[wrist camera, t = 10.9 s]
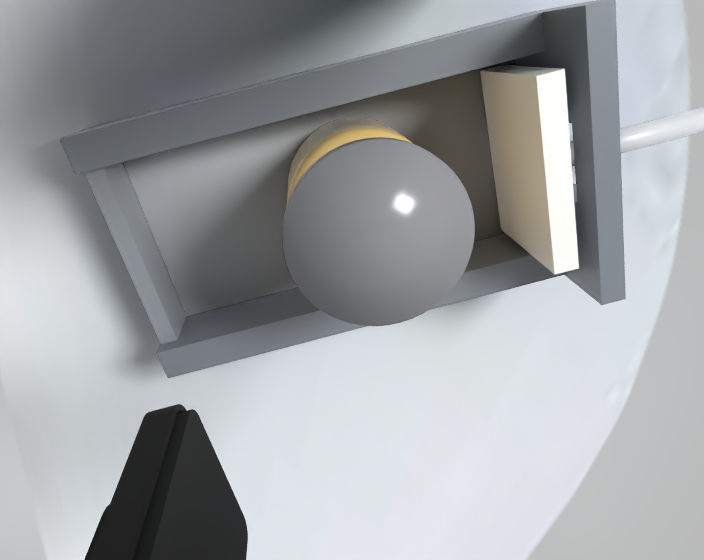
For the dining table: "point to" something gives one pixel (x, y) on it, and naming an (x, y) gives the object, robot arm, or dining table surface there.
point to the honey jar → (374, 224)
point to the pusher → (548, 157)
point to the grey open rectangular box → (348, 86)
